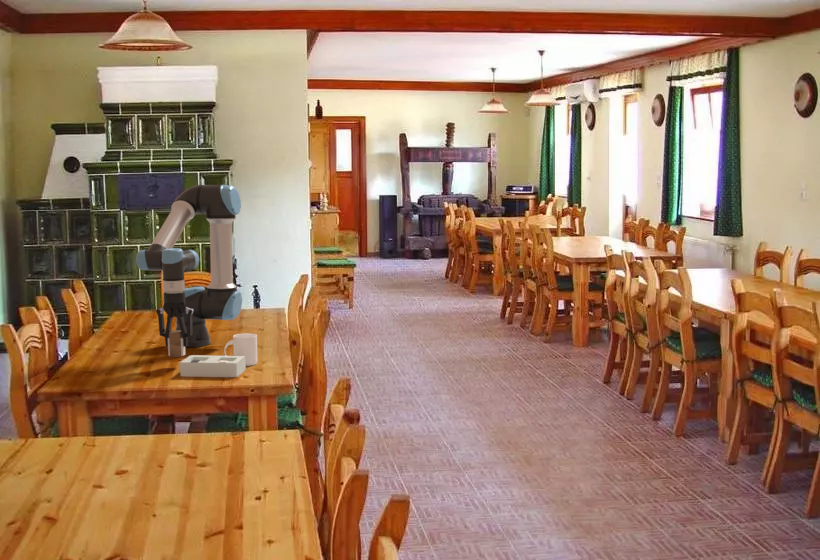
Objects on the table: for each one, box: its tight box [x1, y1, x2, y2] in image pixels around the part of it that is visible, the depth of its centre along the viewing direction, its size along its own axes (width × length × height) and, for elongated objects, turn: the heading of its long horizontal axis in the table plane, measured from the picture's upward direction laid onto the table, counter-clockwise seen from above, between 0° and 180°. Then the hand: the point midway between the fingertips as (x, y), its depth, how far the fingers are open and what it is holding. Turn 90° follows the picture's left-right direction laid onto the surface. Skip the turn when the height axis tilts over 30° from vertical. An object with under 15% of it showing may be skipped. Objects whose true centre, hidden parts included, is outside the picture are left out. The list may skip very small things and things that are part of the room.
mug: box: [223, 332, 258, 367], centre depth 351 cm, size 9×12×11 cm
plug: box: [169, 329, 183, 358], centre depth 346 cm, size 4×4×9 cm
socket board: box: [179, 354, 247, 378], centre depth 337 cm, size 12×20×5 cm, turn 85°
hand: (177, 354), depth 347 cm, fingers closed on plug, 4 cm apart
